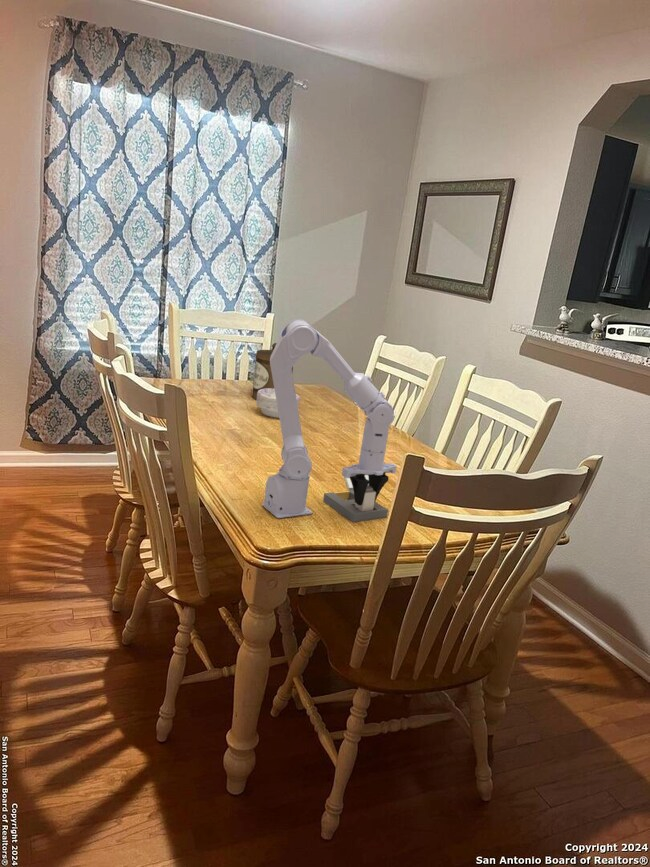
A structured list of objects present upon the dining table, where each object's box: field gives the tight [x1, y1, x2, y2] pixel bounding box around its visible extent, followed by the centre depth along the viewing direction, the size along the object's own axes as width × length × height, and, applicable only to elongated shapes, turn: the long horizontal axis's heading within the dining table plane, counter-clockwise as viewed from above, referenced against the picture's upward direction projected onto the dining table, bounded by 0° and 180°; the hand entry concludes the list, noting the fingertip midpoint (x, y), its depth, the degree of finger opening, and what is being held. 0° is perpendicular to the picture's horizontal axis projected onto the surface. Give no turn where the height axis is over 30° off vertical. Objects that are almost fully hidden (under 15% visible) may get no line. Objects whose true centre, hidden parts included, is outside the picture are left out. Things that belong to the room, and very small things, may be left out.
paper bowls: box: [255, 388, 301, 419], centre depth 234 cm, size 15×15×8 cm
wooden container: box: [251, 342, 294, 401], centre depth 254 cm, size 15×15×22 cm
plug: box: [354, 485, 376, 512], centre depth 156 cm, size 3×3×7 cm
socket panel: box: [322, 490, 389, 523], centre depth 160 cm, size 10×13×2 cm
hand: (364, 502), depth 156 cm, fingers closed on plug, 3 cm apart
